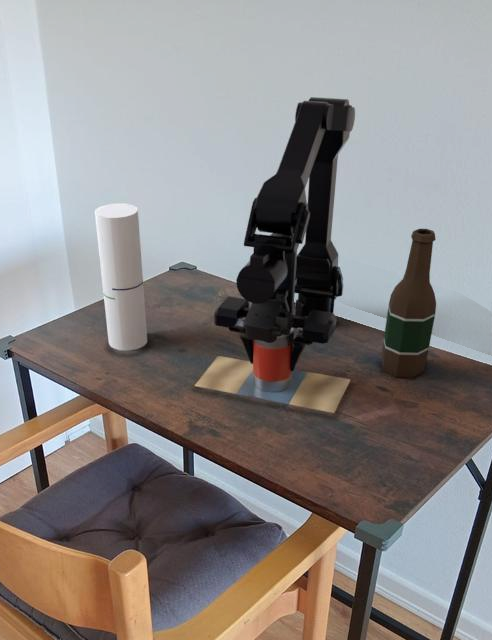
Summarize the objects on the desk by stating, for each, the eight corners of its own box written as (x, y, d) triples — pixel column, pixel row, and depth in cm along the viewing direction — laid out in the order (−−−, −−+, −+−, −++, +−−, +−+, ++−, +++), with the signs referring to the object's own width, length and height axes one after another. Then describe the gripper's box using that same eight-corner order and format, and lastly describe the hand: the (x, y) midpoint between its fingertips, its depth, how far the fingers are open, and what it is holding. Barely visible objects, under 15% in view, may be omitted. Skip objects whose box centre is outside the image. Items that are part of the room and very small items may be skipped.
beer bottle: (373, 372, 130) (392, 235, 115) (386, 353, 135) (406, 219, 120) (418, 382, 127) (443, 243, 112) (430, 362, 132) (455, 226, 117)
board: (350, 384, 127) (350, 379, 126) (333, 418, 119) (334, 412, 118) (218, 360, 135) (218, 355, 134) (194, 390, 127) (194, 385, 126)
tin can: (280, 369, 130) (282, 315, 123) (298, 387, 125) (302, 331, 119) (246, 377, 128) (247, 322, 121) (263, 395, 123) (265, 339, 117)
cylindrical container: (142, 356, 136) (131, 218, 121) (104, 353, 138) (89, 216, 122) (151, 338, 142) (142, 204, 126) (115, 335, 143) (102, 202, 128)
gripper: (200, 288, 112) (202, 379, 121) (322, 307, 106) (314, 401, 116) (226, 261, 120) (226, 348, 130) (341, 277, 114) (332, 367, 124)
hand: (272, 366), depth 124 cm, fingers closed on tin can, 6 cm apart
